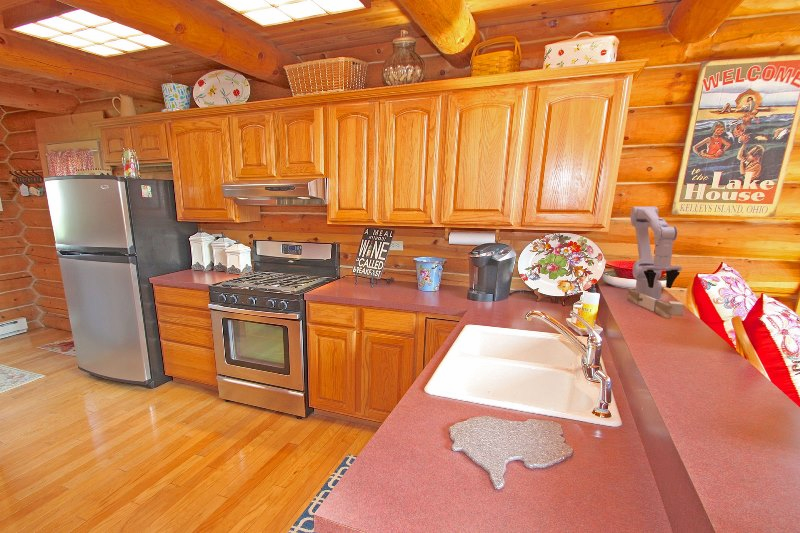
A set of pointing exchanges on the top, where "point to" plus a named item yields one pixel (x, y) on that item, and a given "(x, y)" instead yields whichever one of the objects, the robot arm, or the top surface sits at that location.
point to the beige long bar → (660, 308)
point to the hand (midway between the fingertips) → (659, 287)
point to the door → (647, 302)
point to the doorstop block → (676, 308)
